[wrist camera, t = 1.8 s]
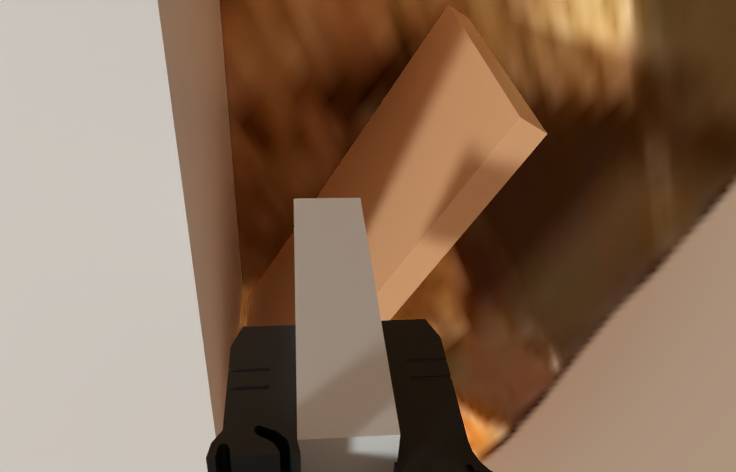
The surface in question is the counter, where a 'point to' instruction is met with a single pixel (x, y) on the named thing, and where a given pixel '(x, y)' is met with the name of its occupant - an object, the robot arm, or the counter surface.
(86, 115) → the block
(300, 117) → the counter surface
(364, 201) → the side door
